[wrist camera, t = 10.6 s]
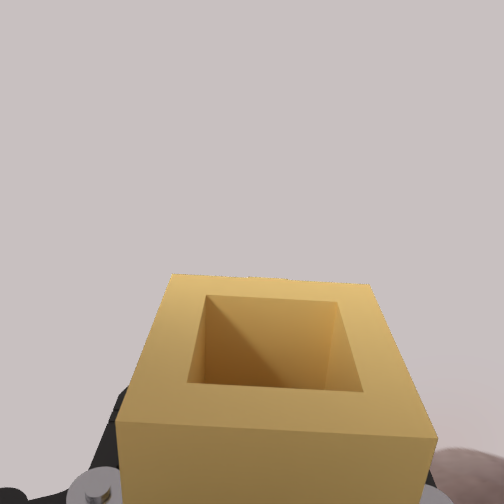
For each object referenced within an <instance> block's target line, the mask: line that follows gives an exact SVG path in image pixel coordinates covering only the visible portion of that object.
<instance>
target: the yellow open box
mask: <svg viewBox="0 0 504 504" xmlns="http://www.w3.org/2000/svg"><path fill="white" fill-rule="evenodd" d="M115 426H116V437H117V447H118V458H119V469H120V480H121V490H122V501H123V504H419V502H420V499H421V496H422V492H423V489H424V485H425V482H426V479H427V475H428V472H429V468H430V465H431V462H432V458H433V455H434V451H435V448H436V444H437V441H438V437H437V435H436V432H435V430H434V428H433V426H432V423H431V421H430V419H429V417H428V414H427V412H426V410H425V408H424V405H423V403H422V401H421V399H420V397H419V394H418V392H417V390H416V388H415V385H414V383H413V381H412V379H411V377H410V374H409V372H408V370H407V367H406V365H405V363H404V361H403V358H402V356H401V354H400V352H399V350H398V347H397V345H396V343H395V341H394V338H393V336H392V334H391V332H390V329H389V327H388V325H387V323H386V321H385V318H384V316H383V314H382V311H381V309H380V307H379V305H378V303H377V300H376V298H375V296H374V294H373V291H372V289H371V287H370V285H369V284H368V285H367V284H351V283H332V282H313V281H296V280H295V281H294V280H288V279H279V278H261V277H248V278H239V277H223V276H204V275H186V274H172V276H171V278H170V281H169V283H168V286H167V288H166V291H165V294H164V296H163V299H162V302H161V304H160V307H159V309H158V312H157V314H156V317H155V320H154V322H153V325H152V327H151V330H150V333H149V335H148V338H147V340H146V343H145V345H144V348H143V351H142V353H141V356H140V358H139V361H138V363H137V367H136V368H135V371H134V374H133V376H132V379H131V381H130V384H129V387H128V389H127V392H126V394H125V397H124V399H123V402H122V405H121V407H120V410H119V412H118V415H117V418H116V420H115Z"/></svg>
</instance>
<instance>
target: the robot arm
mask: <svg viewBox="0 0 504 504" xmlns="http://www.w3.org/2000/svg"><path fill="white" fill-rule="evenodd" d="M128 387H129V386H128ZM128 387H127V388H126V389H125V390H124V391H123V392H122V393H121V394H120V395H119V396H118V399H117V401H116V404H115V406H114V409H113V412H112V414H111V416H110V419H109V422H108V424H107V426H106V428H105V431H104V434H103V436H102V438H101V441H100V443H99V446H98V448H97V451H96V453H95V456H94V458H93V461H92V463H91V466H90V468H89V470H88V471H86V472H84V473H83V474H81V475H80V476H79V477H78V478H77V479H76V480H75V481H74V482H73V483H72V485H71V486H70V488H69V489H67V490H65V491H63V492H60V493H57V494H54V495H50V496H46V497H41V498H37V499H33V500H29V501H28V499H27V497H26V495H25V494H24V493H23V492H22V491H20V490H18V489H16V488H0V504H123V501H122V490H121V480H120V469H119V458H118V447H117V437H116V426H115V420H116V418H117V415H118V412H119V410H120V407H121V405H122V402H123V399H124V397H125V394H126V392H127V389H128ZM419 504H454V503H453V502H452V501H451V499H450V498H449V497H448V496H447V495H445V494H444V493H443V492H442V491H440V490H438V489H437V487H436V485H435V482H434V480H433V477H432V475H431V472H430V470H429V472H428V475H427V479H426V482H425V485H424V489H423V492H422V496H421V499H420V502H419Z"/></svg>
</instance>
